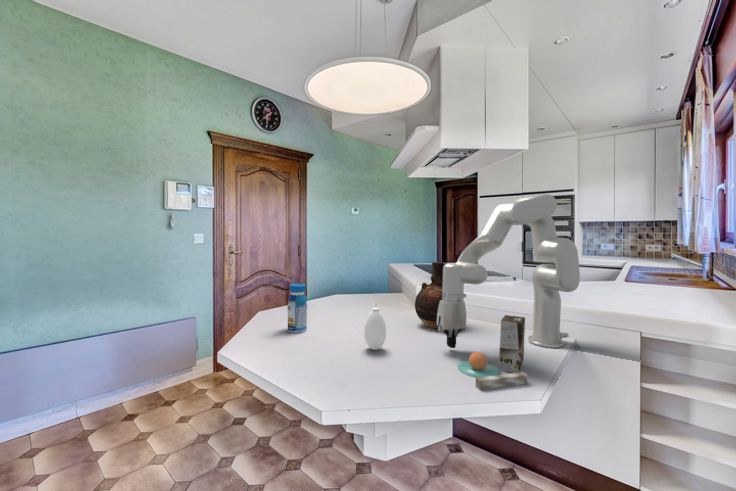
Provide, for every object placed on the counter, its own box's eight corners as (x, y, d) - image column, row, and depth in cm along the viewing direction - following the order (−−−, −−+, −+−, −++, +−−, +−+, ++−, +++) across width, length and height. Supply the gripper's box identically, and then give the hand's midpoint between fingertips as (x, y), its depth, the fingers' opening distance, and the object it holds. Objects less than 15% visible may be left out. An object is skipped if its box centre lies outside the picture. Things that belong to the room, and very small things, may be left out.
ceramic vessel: (418, 332, 144) (420, 263, 143) (410, 321, 162) (412, 260, 160) (465, 332, 146) (467, 264, 144) (453, 321, 163) (454, 260, 162)
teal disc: (483, 359, 114) (483, 359, 114) (509, 375, 101) (509, 375, 101) (450, 363, 110) (450, 362, 110) (472, 380, 98) (472, 379, 98)
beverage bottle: (304, 333, 140) (305, 286, 139) (284, 333, 140) (285, 285, 139) (308, 327, 148) (309, 283, 147) (289, 327, 148) (290, 282, 147)
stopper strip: (522, 380, 98) (522, 372, 98) (527, 383, 97) (527, 375, 96) (475, 386, 94) (475, 377, 94) (479, 389, 92) (480, 381, 92)
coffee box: (520, 374, 103) (522, 323, 102) (498, 369, 106) (500, 319, 105) (524, 364, 110) (526, 317, 110) (503, 360, 114) (505, 314, 113)
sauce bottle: (389, 349, 122) (390, 301, 122) (375, 354, 117) (376, 304, 116) (374, 344, 128) (374, 297, 127) (359, 349, 122) (360, 300, 121)
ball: (478, 356, 110) (483, 347, 107) (487, 371, 106) (492, 362, 103) (463, 360, 109) (468, 350, 105) (472, 375, 105) (477, 365, 101)
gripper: (464, 294, 127) (463, 342, 128) (429, 296, 123) (428, 345, 124) (476, 298, 120) (474, 348, 121) (439, 300, 116) (437, 352, 116)
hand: (451, 346), depth 122 cm, fingers closed
